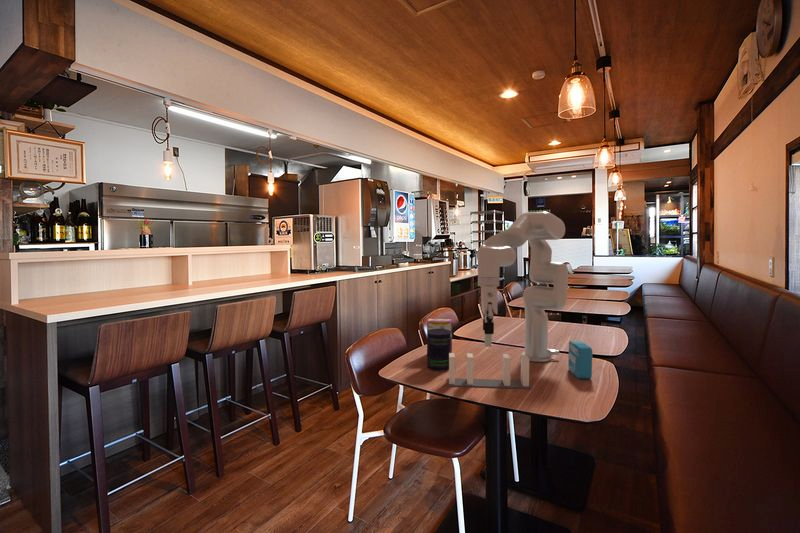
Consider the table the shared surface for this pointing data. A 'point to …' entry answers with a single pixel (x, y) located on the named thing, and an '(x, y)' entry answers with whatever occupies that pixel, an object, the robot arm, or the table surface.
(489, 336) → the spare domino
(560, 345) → the table surface
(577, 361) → the teal box
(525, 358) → the domino
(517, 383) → the mat
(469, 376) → the domino
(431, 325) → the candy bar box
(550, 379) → the table surface
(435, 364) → the storage jar
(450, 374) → the domino
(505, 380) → the domino
